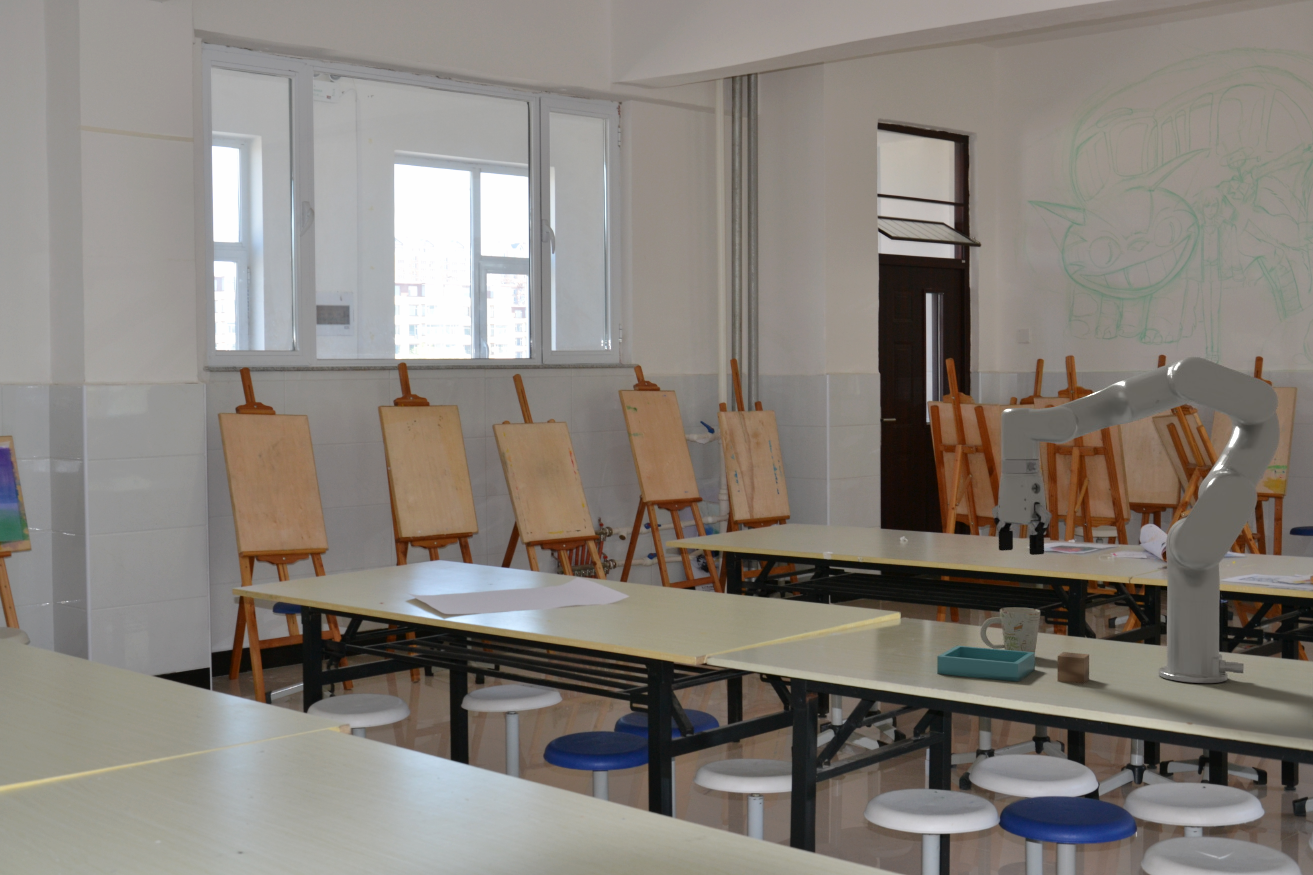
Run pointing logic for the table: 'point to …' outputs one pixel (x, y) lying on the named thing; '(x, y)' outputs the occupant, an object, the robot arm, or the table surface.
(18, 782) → the table surface
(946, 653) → the tray
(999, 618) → the mug
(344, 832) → the table surface
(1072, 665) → the block
